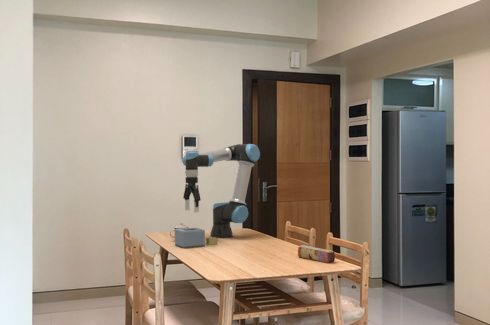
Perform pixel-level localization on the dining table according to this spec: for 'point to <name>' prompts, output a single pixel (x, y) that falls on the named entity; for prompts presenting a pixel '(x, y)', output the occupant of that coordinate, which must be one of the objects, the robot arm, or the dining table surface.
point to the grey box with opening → (190, 237)
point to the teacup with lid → (178, 228)
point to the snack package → (316, 254)
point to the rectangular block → (211, 241)
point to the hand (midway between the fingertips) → (191, 211)
